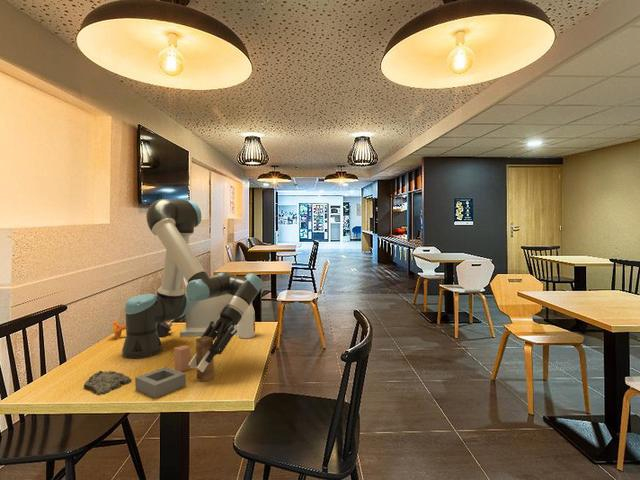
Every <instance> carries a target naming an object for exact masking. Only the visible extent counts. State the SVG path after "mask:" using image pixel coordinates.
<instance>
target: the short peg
mask: <svg viewBox="0 0 640 480" xmlns="http://www.w3.org/2000/svg"><path fill="white" fill-rule="evenodd" d="M173 351H174V354H173V355H174V370H176V371H179V372H182V373H184V372H185V371H188V370H190V369H192V367H191V366H189V365H188V364H189V362H190V361H191V360H192V358H191V356H192V354H191V347H190V346H187V345H180V346H177V347H174V348H173Z"/></svg>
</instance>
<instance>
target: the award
mask: <svg viewBox="0 0 640 480" xmlns="http://www.w3.org/2000/svg"><path fill="white" fill-rule="evenodd" d="M231 297H232V295H230V294H226V295H222V296H218V297H212V298H208V299H206V300H199V301H193V300H191V299H190V298H189V297H188V300H189V308H188V311H187V313H186V314H185V327H184V328H183V329H182V330H181V331H179V336H180V338H185V337H186V338H187V337H189V338H190V337H202V335H203V334H204V333H205V331H206V330H207V328H208V327H209V324H210V322H211V321H213V322H217V320H219V319H220V313H221V311H222V310H223V308H224V307H225V306H226V304H227V302H228V301H229V300H230V298H231ZM234 328H235V329H236V330H237V333H236V334H235V336H239V331H238V324H237V325H234ZM217 333H218V332H217Z"/></svg>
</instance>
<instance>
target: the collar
mask: <svg viewBox="0 0 640 480" xmlns="http://www.w3.org/2000/svg"><path fill="white" fill-rule="evenodd" d="M186 378H187V377H186V373H184V372H180V371H177V370H175V369H173V368H170V367H168V366H165V367H161V368H159V369H156V370H152V371H150V372H147V373H144V374H141V375H139V376H136V377H134V381H135V383H134V384H135V385H134V386H135V390H136V391H138V392H140V393H142V394H144V395H146V396H149V397H152V398H154V399H158V398H159V397H162V396H163V395H166V394H167V395H168V393H171V392H174V391H176V390H178V389H181V388H183V387H186V386H187V380H186Z"/></svg>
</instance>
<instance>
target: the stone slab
mask: <svg viewBox="0 0 640 480" xmlns="http://www.w3.org/2000/svg"><path fill="white" fill-rule="evenodd" d="M131 382H132V378H130V376H129V375H125V373H122V372H116V371H114V370H109V371H105V370H104V371H102V370H99V371H97V372H95V373H93V374H92V375H91V376H90V377H89V378H88V379H87V380H86V381H85V383H84V384H83V388H84V389H87V390H90V391H91V390H92V393H94V394H96V393H97V394H96V396H102V395H101V394H103V395H107V394H109V393H110V392H111V390H112V391H115V390H117V389H118V388H121V387H122V385H123V386H126V385H128V384H130V383H131ZM106 393H107V394H106Z"/></svg>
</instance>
